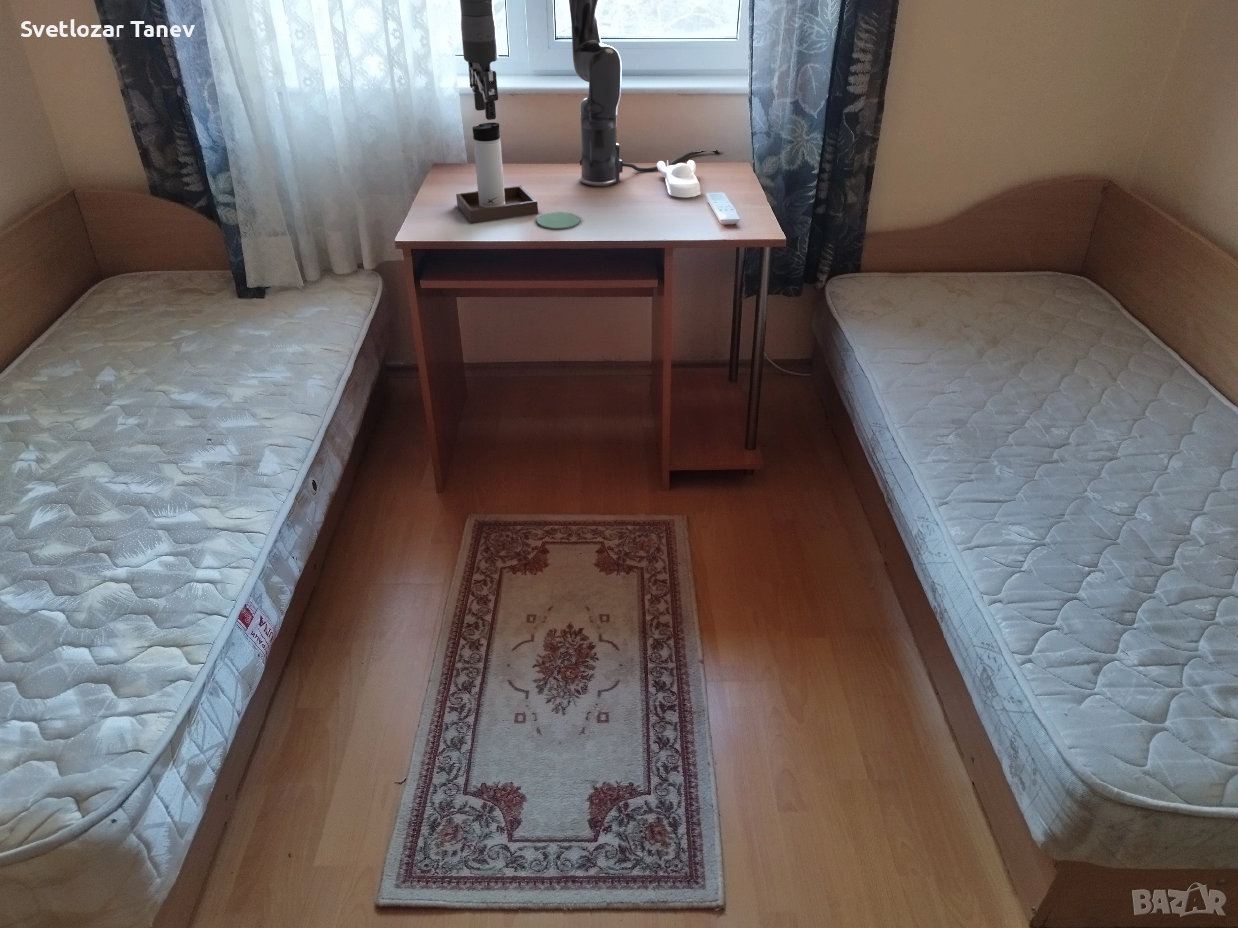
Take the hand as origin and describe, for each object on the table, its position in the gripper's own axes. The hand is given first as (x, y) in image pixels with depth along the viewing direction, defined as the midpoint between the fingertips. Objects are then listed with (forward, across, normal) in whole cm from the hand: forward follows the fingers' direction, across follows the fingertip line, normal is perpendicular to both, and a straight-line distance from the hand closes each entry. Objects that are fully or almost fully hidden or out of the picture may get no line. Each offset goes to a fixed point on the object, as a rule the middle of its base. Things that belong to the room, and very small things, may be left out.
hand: (485, 114), depth 199 cm
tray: (+22, 0, -1) cm, 22 cm away
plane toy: (+22, -2, -50) cm, 55 cm away
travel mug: (+22, 0, 0) cm, 22 cm away
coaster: (+22, -13, -12) cm, 29 cm away
